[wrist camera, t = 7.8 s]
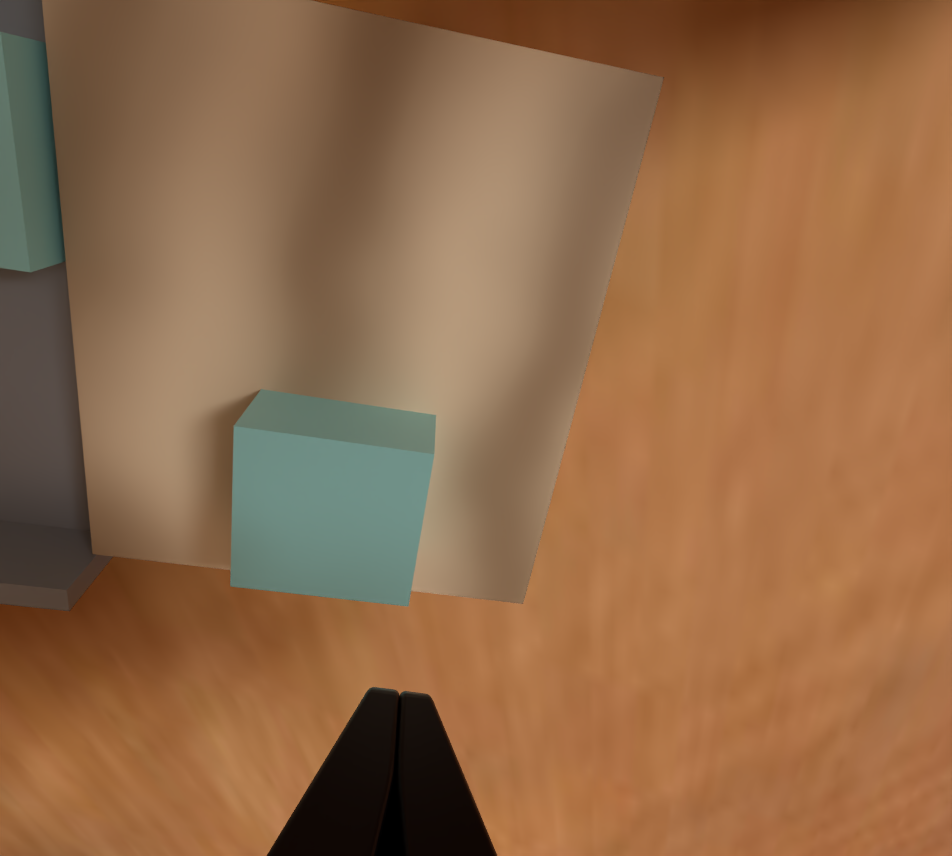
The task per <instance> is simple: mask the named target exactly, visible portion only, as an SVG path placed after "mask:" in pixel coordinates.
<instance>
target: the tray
mask: <svg viewBox="0 0 952 856" xmlns="http://www.w3.org/2000/svg"><path fill="white" fill-rule="evenodd" d="M0 32H4V33H8V34H12V35H16V36H20V37H24V38H29V39H33V40H37V41H41V42H45V43H46V39H45V28H44V17H43V6H42V0H0ZM112 557H113V556H105V555H96V554H93V553H92V542H91V531H90V520H89V509H88V498H87V487H86V476H85V465H84V454H83V443H82V432H81V422H80V411H79V400H78V389H77V378H76V367H75V356H74V345H73V334H72V323H71V312H70V301H69V290H68V280H67V269H66V261H65V262H62V263H59V264H55V265H52V266H49V267H46V268H43V269H40V270H37V271H33V272H24V271H18V270H11V269H5V268H0V604H6V605H16V606H25V607H35V608H44V609H54V610H63V611H70V610H71V608H72V607H73V606H74V605H75V603H76V602H77V601H78V600H79V598H80V597H81V596H82V595H83V593H84V592H85V591H86V590H87V588H88V587H89V586H90V585H91V584H92V582H93V581H94V580H95V579H96V577H97V576H98V575H99V574H100V572H101V571H102V570H103V569H104V567H105V566H106V565H107V564H108V562H109V561H110V560H111V559H112Z"/></svg>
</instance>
